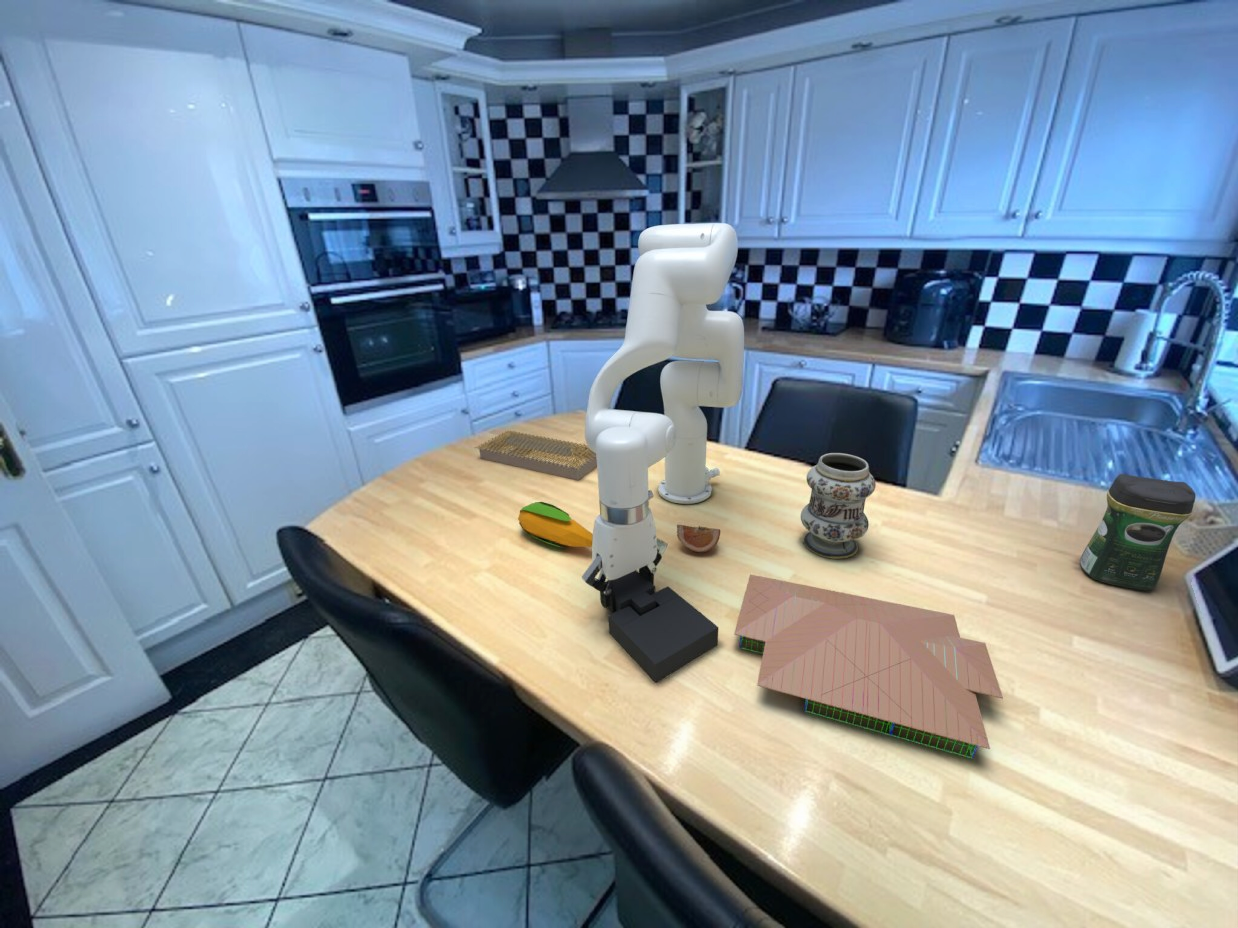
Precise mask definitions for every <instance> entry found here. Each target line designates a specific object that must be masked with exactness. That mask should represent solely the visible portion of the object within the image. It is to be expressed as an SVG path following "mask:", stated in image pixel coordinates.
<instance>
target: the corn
mask: <svg viewBox="0 0 1238 928" xmlns="http://www.w3.org/2000/svg"><path fill="white" fill-rule="evenodd" d="M517 520H518V523H519V526H520V528H521V529H522V530H523V531H524V532H525V533H527V534H528V535H530V536H532V537H533V538H535V539H536V540H538V541H541V542H544V543H545V544H548V545H551V546H555V547H558V548H562V549H565V546H569V547H572V548H581V547H583V548H584V547H587V548H588V547H592V540H593V532H590V531H589V530H588V529H587V528H585V527H584V526H582V525H581V524H580V523H579V522H578V521H576V520H575V519H572V517H570V514H569V513H568V512H566V511H565V510H563V509H561V508H559V507H558V506H556V505H554V504H551V503H547V502H544V501H536V502H532V503H529V504H527V505H525V506H523V507H522V508H521V509H520V510H519V514H518V517H517Z"/></svg>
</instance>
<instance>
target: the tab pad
mask: <svg viewBox="0 0 1238 928" xmlns="http://www.w3.org/2000/svg"><path fill="white" fill-rule="evenodd" d="M605 583H607V580H605ZM612 591H613V592H614V593H615V609H616V611H615V612H617V611H619V610H621V609H623V608H625V607H627V606H630V607H631V608H632V609H633V610H634V611H635V612H636V613H637V614H638V615H639V616H641V615H643V614H645V613H647V612H649V611H651V610H653V609H655V608H656V600H655V599H654V598H653V597H652V596H650V595H651V594H653V593H655V592H656V586H655V585H654V584H652V583H651V582H649V581H648V580H647V579H646V578H645V577H643V576H642V575H641V574H640V573H639V570H635V571H633V572H631V573H629V574H627V575H624V576H622V577H620V578H617V579H616V581H615V584H614V586H613V589H612ZM615 612H614V613H615Z"/></svg>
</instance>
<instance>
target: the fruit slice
mask: <svg viewBox="0 0 1238 928" xmlns="http://www.w3.org/2000/svg"><path fill="white" fill-rule="evenodd" d="M676 536H677V539H678V541H679V542H680V543H681V544H682V546H684V547H685V548H687V549H688V550H690V551H692V552H696V553H707V552H709V551H711V550H712V549H714V548H715V547H716V545H717V544H718V542H719V540H720V536H721V529H720V528H713V527H706V526H701V525H698V526H690V525H685V524H676Z"/></svg>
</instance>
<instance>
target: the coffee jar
mask: <svg viewBox="0 0 1238 928" xmlns="http://www.w3.org/2000/svg"><path fill="white" fill-rule="evenodd" d="M1115 477H1116V478H1114V480H1113V483H1112V484H1111V485H1110V487H1109V488H1108V490H1107V493H1106V503H1107V506H1106V510H1105V512H1104V514H1103V517H1102V520H1101V521H1100V523H1099V525H1098V526H1097V528H1096V530H1095V532H1094V533H1093V534H1092V536H1091V538H1090V539H1089V542H1088V543H1087V545H1086V546H1085V549H1084V550H1083V552H1082V554H1081V556H1080V559H1079V564H1080V567H1081V570H1082V571H1083V572H1085V574H1086V575H1088V576H1089V577H1090V578H1092V579H1094V580H1096V581H1099V582H1101V583H1105V584H1109V585H1113V586H1117V587H1122V588H1128V589H1132V590H1133V589H1134V590H1141V591H1149V590H1152V589H1155V588H1156V587H1157V586H1158V583H1159V580H1160V579H1161V575H1162V572H1163V569H1164V564H1165V562H1166V557H1167V555H1168V551H1169V548H1170V545H1171V544H1172V543H1171V542H1172V539H1173V537H1174V535H1175V534H1176V531H1177V529H1179V526H1180V525H1181V524H1182V523H1183V522H1185V521H1186V520H1187V519H1188V518H1190V516H1191V514H1192V513H1193V509H1194V506H1195V505H1194V504H1195V502H1196V492H1195V491H1194V489H1193V488H1192V487H1191V486H1190V485H1189V484H1188V483H1187V482H1185V481H1173V480H1167V479H1166V480H1165V479H1161V478H1160V479H1158V478H1152V477H1144V476H1136V475H1130V474H1126V473H1125V474H1124V473H1119V474H1118V475H1117V476H1115Z"/></svg>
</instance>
